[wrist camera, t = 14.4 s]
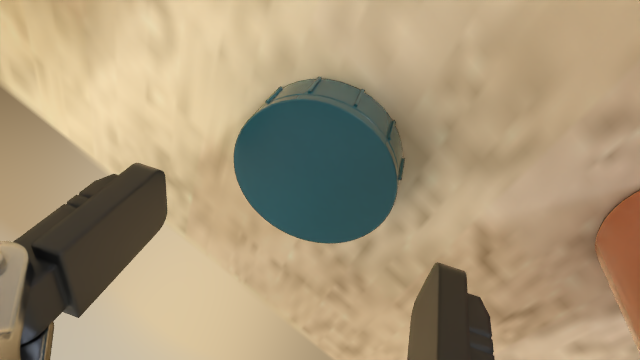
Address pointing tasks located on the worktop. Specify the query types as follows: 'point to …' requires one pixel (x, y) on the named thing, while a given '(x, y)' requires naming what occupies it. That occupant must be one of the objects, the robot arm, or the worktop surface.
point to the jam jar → (623, 259)
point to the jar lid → (320, 161)
